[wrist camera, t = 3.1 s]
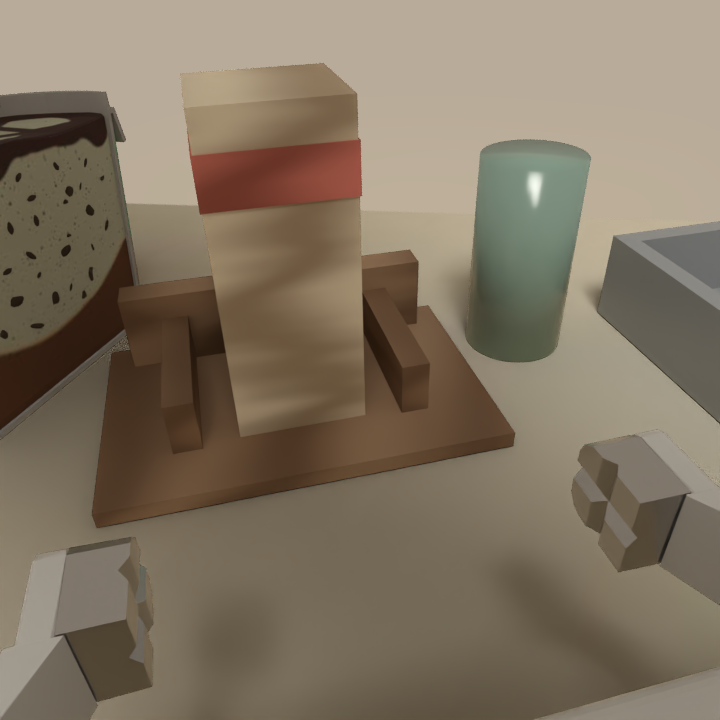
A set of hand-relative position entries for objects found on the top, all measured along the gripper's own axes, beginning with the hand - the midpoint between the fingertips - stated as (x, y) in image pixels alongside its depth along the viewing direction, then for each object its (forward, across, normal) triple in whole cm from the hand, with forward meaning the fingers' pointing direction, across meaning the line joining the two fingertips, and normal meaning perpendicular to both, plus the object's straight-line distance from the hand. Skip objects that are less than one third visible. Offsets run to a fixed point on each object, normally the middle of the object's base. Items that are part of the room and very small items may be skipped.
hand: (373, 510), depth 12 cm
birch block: (+12, 0, +6) cm, 14 cm away
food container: (+18, +11, +7) cm, 22 cm away
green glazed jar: (+14, -10, +7) cm, 18 cm away
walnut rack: (+12, 0, +7) cm, 14 cm away
